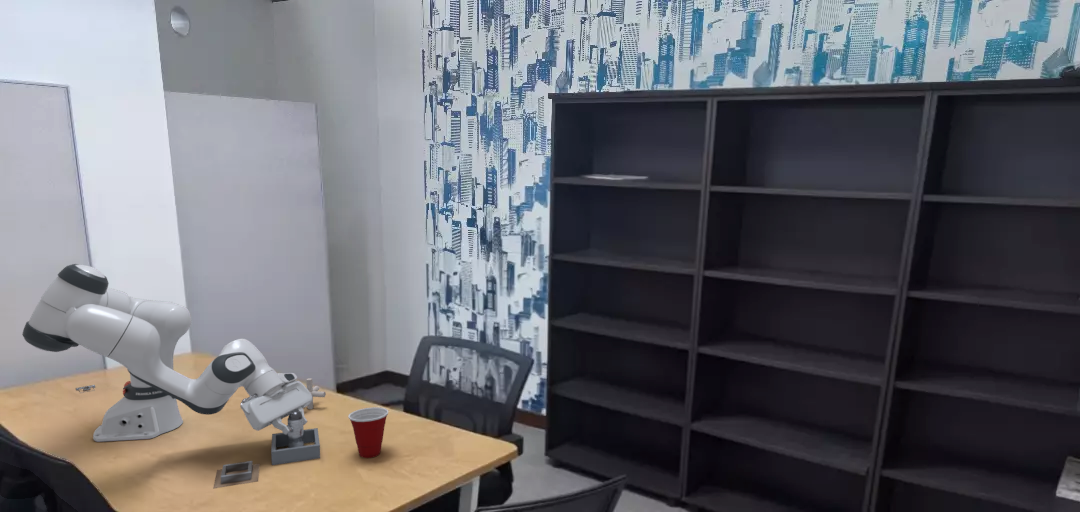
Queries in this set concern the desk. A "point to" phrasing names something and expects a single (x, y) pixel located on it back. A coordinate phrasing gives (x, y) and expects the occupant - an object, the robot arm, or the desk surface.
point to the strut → (295, 430)
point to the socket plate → (237, 474)
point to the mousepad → (86, 388)
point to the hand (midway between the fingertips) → (296, 428)
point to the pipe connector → (313, 392)
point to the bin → (295, 448)
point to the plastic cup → (369, 430)
